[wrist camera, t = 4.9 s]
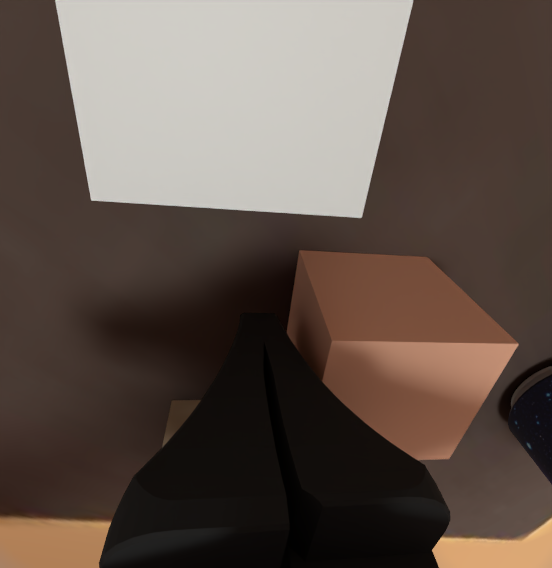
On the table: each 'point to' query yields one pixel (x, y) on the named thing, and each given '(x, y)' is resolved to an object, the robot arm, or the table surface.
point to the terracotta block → (397, 345)
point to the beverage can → (534, 418)
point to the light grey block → (233, 99)
